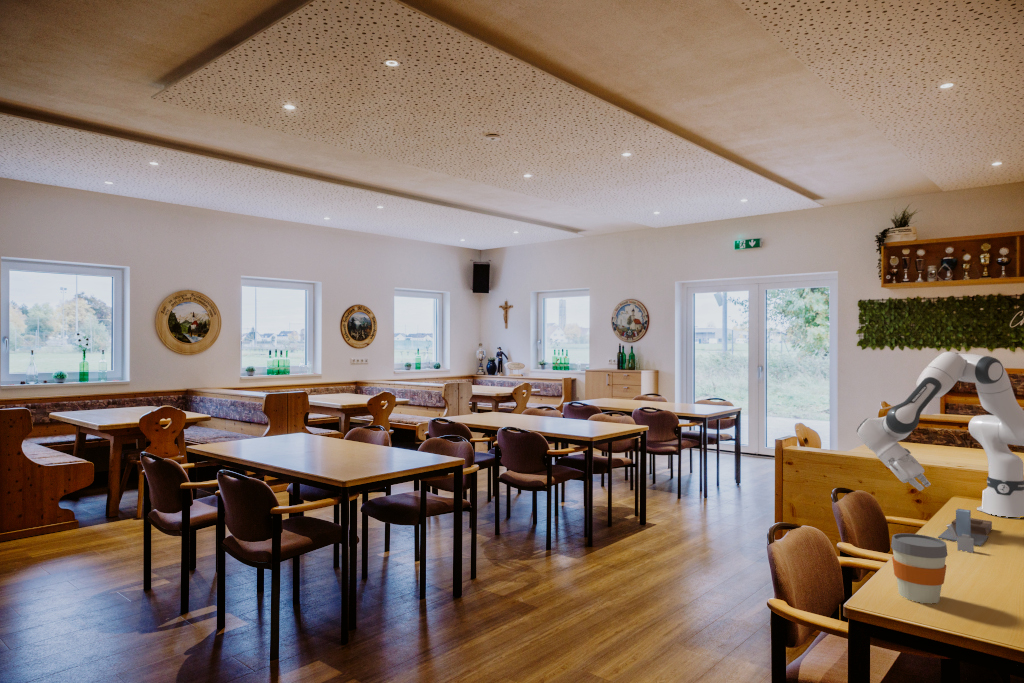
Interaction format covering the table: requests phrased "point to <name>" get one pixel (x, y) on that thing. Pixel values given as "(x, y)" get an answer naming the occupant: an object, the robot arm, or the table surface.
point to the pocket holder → (978, 526)
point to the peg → (963, 522)
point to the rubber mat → (977, 538)
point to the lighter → (962, 540)
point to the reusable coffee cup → (919, 566)
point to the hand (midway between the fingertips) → (925, 487)
